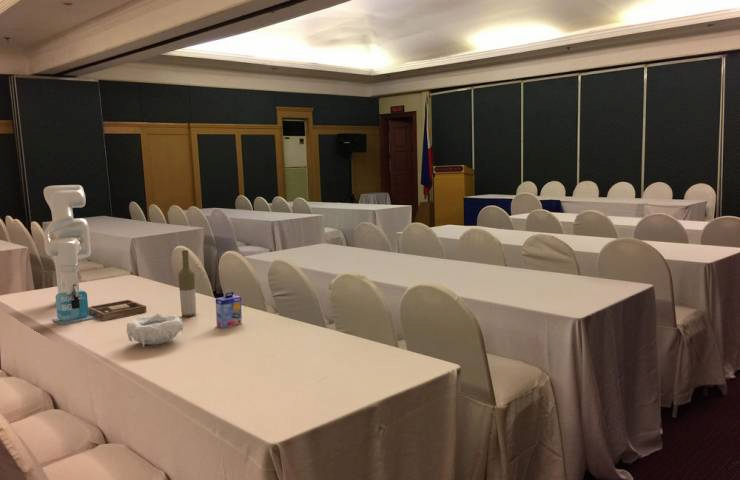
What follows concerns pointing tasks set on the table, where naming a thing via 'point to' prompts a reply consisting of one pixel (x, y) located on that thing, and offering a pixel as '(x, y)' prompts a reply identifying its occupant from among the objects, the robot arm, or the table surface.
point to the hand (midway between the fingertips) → (72, 306)
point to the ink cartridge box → (228, 310)
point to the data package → (66, 309)
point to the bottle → (187, 288)
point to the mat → (72, 320)
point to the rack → (100, 311)
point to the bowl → (154, 328)
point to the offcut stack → (117, 308)
